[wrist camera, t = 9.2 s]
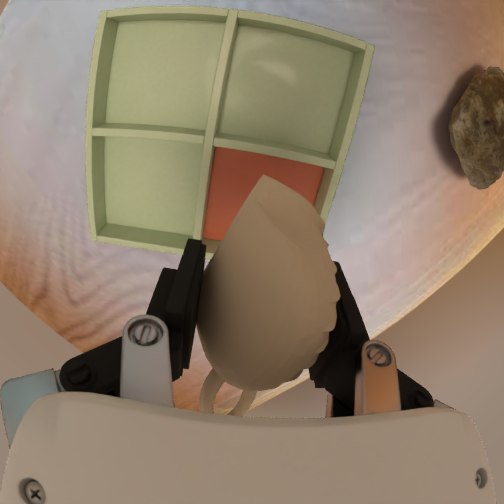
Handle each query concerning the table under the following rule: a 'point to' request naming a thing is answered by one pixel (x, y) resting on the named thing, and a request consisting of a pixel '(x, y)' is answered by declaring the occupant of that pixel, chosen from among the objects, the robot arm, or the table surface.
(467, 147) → the stone
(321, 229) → the decorative ornament
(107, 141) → the grid
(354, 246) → the table surface
